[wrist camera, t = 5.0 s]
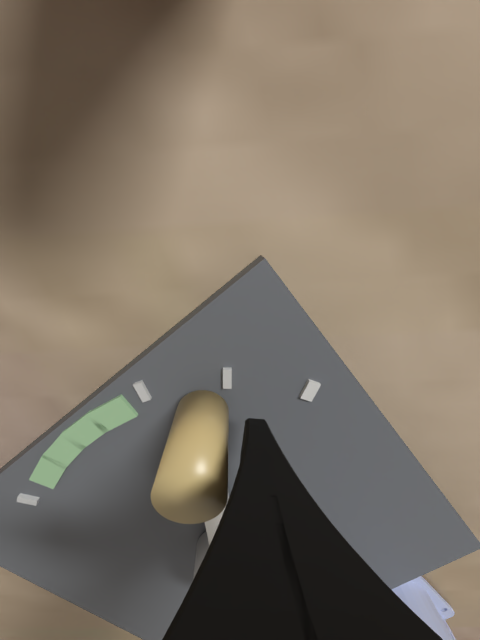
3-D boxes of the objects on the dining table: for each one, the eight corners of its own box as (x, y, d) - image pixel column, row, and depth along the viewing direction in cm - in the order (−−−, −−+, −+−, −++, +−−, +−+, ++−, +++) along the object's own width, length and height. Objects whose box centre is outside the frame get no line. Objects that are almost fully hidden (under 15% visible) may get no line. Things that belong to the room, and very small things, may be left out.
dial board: (463, 522, 18) (486, 550, 16) (210, 645, 22) (208, 677, 21) (260, 255, 11) (265, 258, 10) (-43, 503, 16) (-74, 534, 14)
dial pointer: (258, 560, 16) (267, 671, 12) (201, 566, 16) (191, 679, 12) (238, 383, 11) (243, 463, 7) (160, 391, 11) (122, 475, 7)
